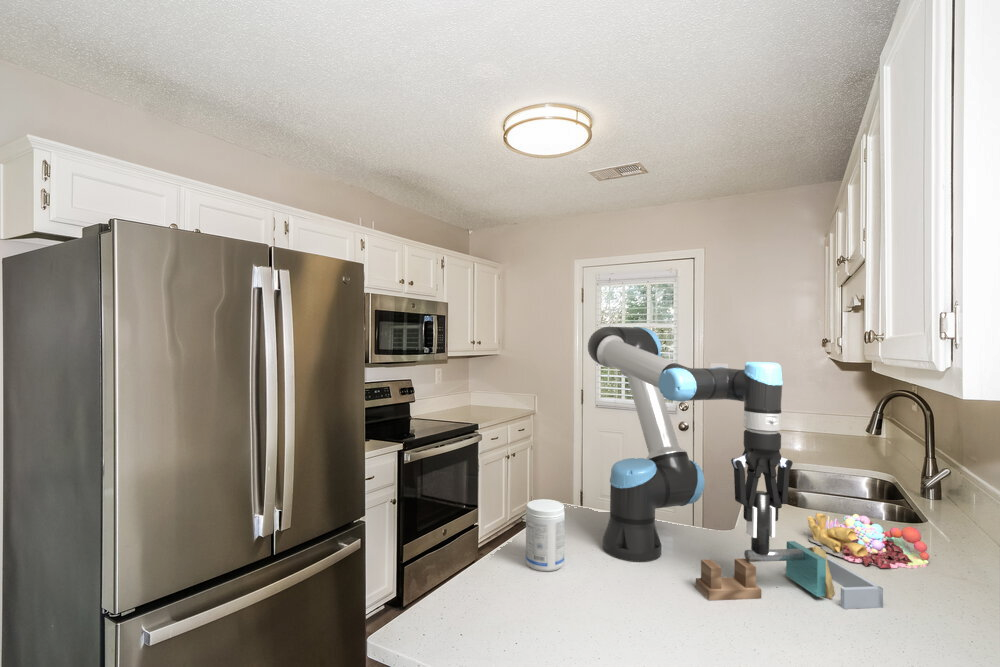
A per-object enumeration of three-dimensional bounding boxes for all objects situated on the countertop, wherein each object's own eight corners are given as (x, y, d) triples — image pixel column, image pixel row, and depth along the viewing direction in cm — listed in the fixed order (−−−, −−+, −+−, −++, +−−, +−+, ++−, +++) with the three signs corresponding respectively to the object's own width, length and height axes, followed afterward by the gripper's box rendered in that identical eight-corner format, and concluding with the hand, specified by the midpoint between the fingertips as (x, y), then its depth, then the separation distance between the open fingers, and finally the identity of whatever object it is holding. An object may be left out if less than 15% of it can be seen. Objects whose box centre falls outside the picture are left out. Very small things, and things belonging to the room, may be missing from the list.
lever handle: (760, 598, 110) (762, 500, 110) (734, 577, 120) (735, 486, 120) (825, 596, 111) (826, 499, 112) (794, 575, 121) (795, 486, 122)
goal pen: (844, 609, 108) (844, 589, 108) (789, 572, 125) (789, 555, 125) (882, 607, 109) (883, 588, 109) (823, 571, 126) (823, 555, 126)
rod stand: (709, 600, 110) (709, 570, 110) (695, 587, 116) (695, 558, 116) (761, 598, 112) (761, 568, 112) (745, 585, 118) (745, 556, 118)
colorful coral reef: (865, 574, 125) (866, 536, 125) (790, 538, 148) (791, 506, 148) (945, 566, 131) (945, 530, 131) (861, 532, 154) (861, 501, 154)
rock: (811, 562, 125) (785, 563, 121) (834, 543, 121) (809, 543, 117) (843, 605, 117) (817, 607, 113) (869, 585, 113) (843, 587, 109)
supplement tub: (553, 554, 133) (554, 497, 133) (571, 569, 124) (572, 508, 124) (519, 558, 129) (520, 500, 130) (534, 575, 120) (535, 512, 121)
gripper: (736, 433, 111) (734, 542, 110) (808, 433, 112) (806, 541, 112) (718, 427, 118) (716, 529, 118) (786, 428, 120) (784, 528, 120)
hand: (760, 535), depth 115 cm, fingers closed on lever handle, 4 cm apart
